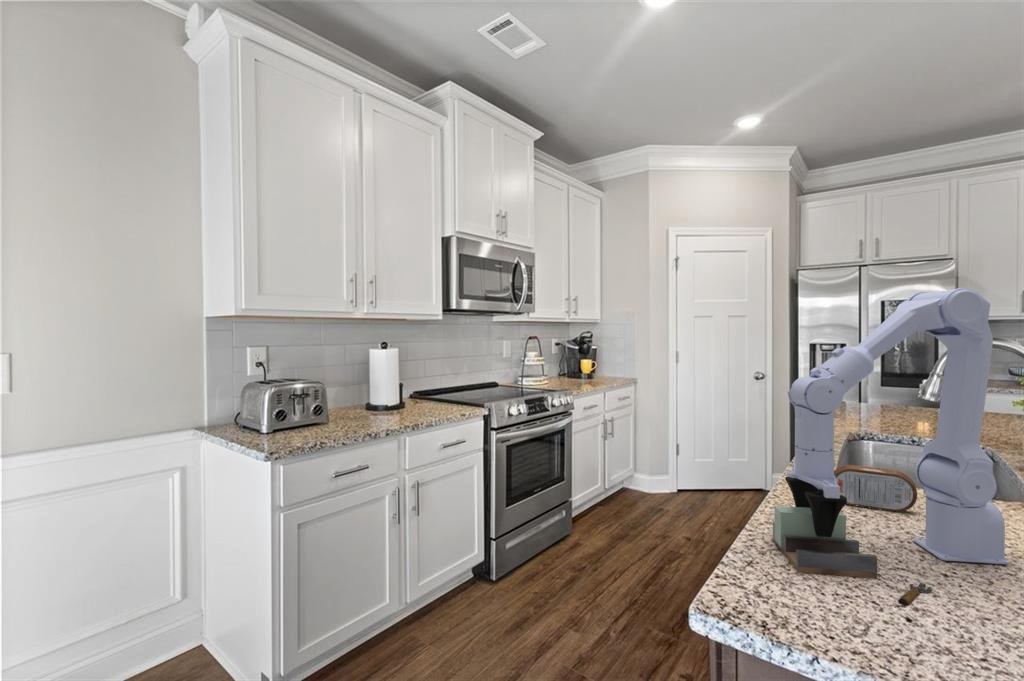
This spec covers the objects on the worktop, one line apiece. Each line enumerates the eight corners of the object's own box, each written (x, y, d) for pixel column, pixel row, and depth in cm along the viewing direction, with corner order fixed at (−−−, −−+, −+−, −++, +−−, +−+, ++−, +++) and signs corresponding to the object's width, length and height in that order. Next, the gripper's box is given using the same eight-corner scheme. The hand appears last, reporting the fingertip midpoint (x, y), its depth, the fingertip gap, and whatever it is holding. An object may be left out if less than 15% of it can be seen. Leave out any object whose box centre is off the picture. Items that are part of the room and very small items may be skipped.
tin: (916, 512, 104) (916, 471, 104) (918, 516, 101) (918, 475, 101) (830, 499, 112) (830, 461, 112) (830, 503, 109) (830, 465, 109)
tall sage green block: (774, 539, 88) (774, 505, 88) (837, 543, 87) (837, 509, 87) (780, 547, 85) (780, 512, 85) (845, 551, 84) (846, 515, 83)
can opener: (907, 608, 68) (907, 600, 68) (887, 600, 70) (887, 592, 70) (937, 591, 73) (937, 583, 73) (918, 584, 75) (918, 577, 75)
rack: (841, 545, 88) (841, 526, 88) (877, 578, 76) (877, 556, 76) (773, 540, 90) (773, 522, 90) (798, 572, 78) (798, 551, 78)
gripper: (774, 438, 94) (774, 510, 94) (804, 457, 79) (804, 542, 79) (816, 439, 92) (816, 513, 92) (854, 458, 78) (854, 546, 78)
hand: (814, 527), depth 86 cm, fingers open, 7 cm apart
